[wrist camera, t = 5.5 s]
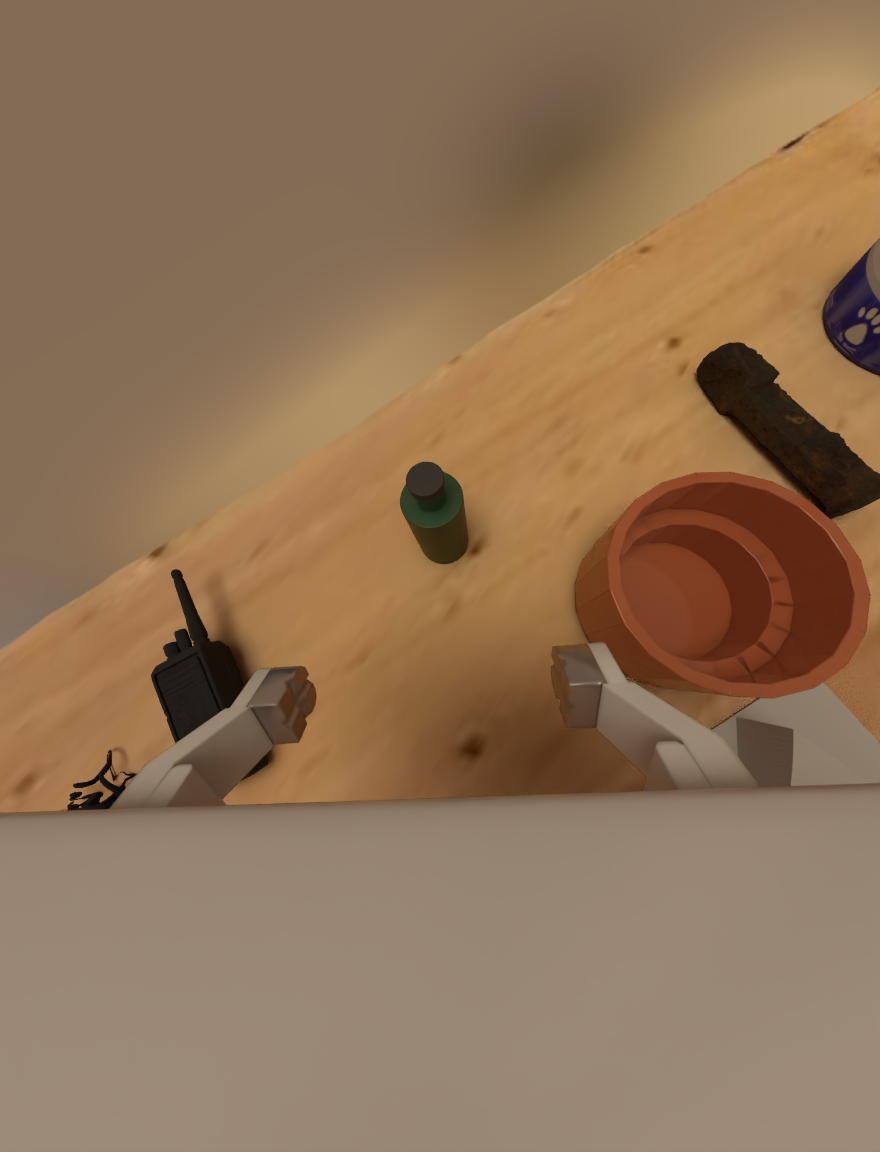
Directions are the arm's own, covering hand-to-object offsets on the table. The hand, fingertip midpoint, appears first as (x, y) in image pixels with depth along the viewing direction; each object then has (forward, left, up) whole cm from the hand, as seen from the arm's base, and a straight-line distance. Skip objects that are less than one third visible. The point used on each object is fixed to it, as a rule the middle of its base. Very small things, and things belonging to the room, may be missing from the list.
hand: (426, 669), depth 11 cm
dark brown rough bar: (-9, -34, -20) cm, 41 cm away
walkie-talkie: (+18, +16, -20) cm, 31 cm away
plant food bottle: (+9, -8, -20) cm, 24 cm away
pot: (-10, -15, -20) cm, 27 cm away
